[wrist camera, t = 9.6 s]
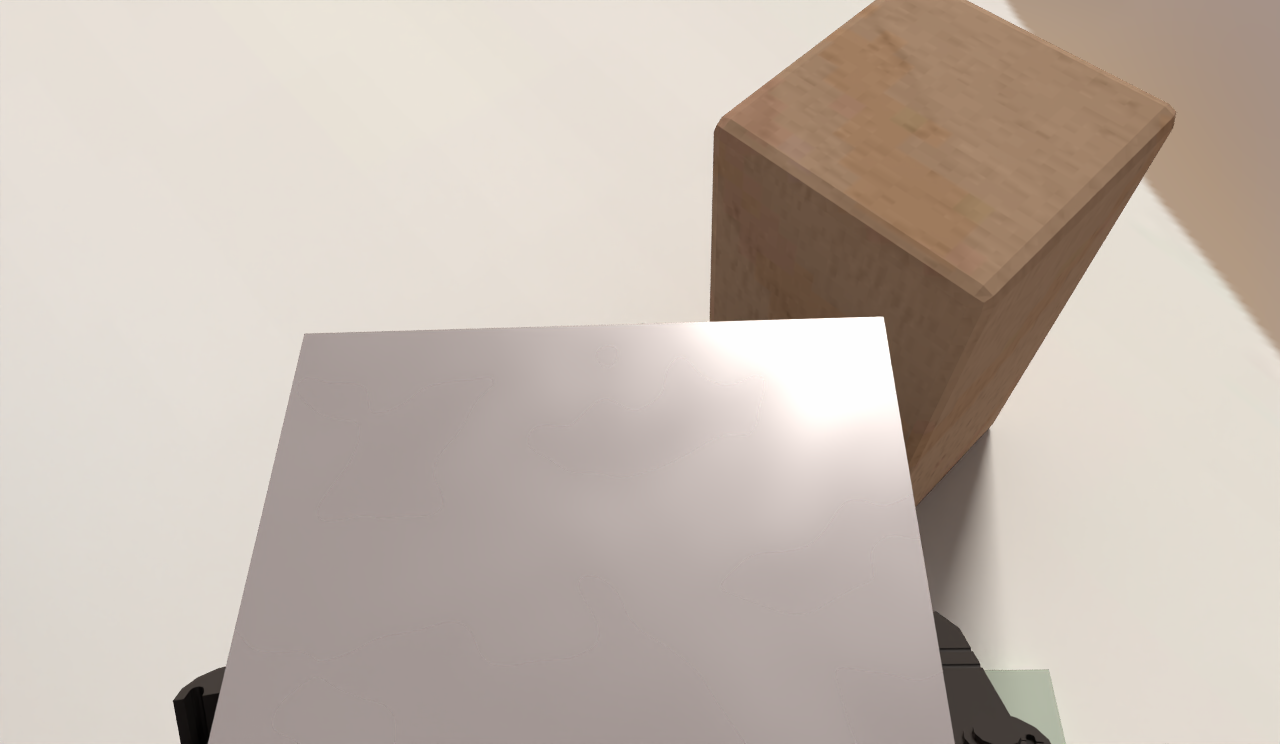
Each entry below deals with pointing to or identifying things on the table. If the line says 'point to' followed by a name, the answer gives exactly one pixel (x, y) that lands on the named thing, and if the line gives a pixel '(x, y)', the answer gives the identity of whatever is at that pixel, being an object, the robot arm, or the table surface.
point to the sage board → (1030, 699)
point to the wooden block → (928, 201)
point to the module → (589, 543)
